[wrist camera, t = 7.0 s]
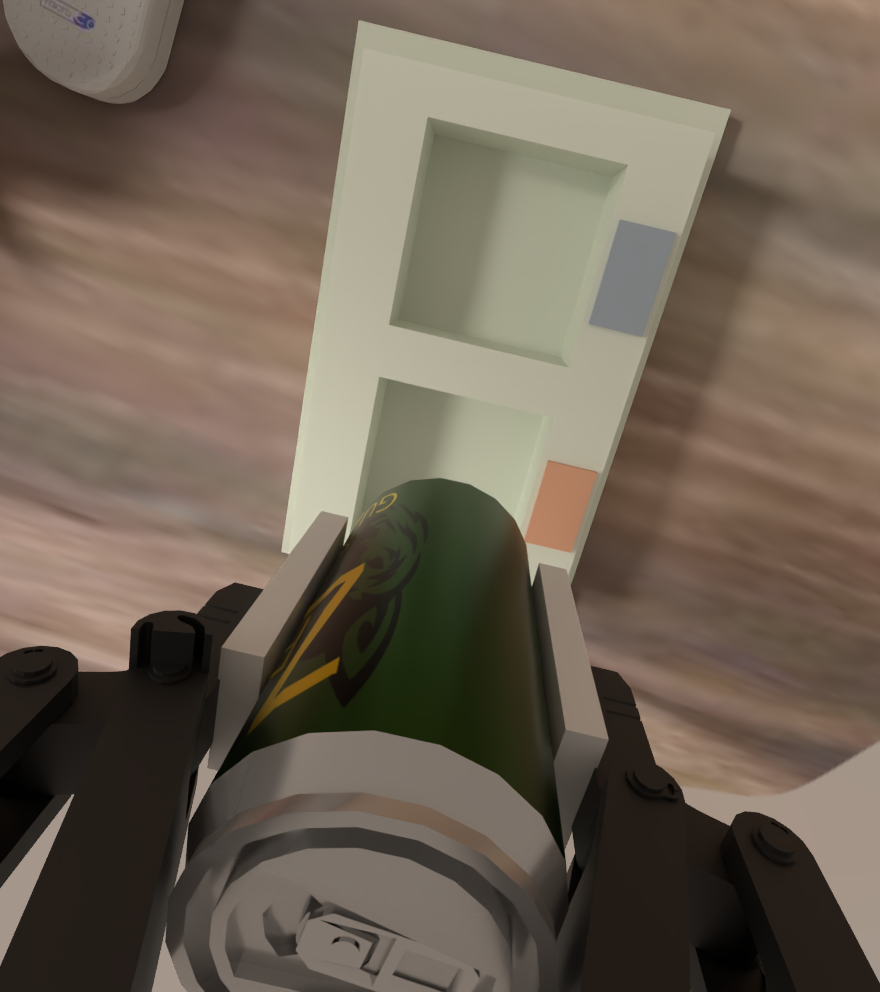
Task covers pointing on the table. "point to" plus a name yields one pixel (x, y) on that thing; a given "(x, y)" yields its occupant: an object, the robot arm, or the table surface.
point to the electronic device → (97, 43)
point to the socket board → (491, 281)
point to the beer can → (389, 778)
